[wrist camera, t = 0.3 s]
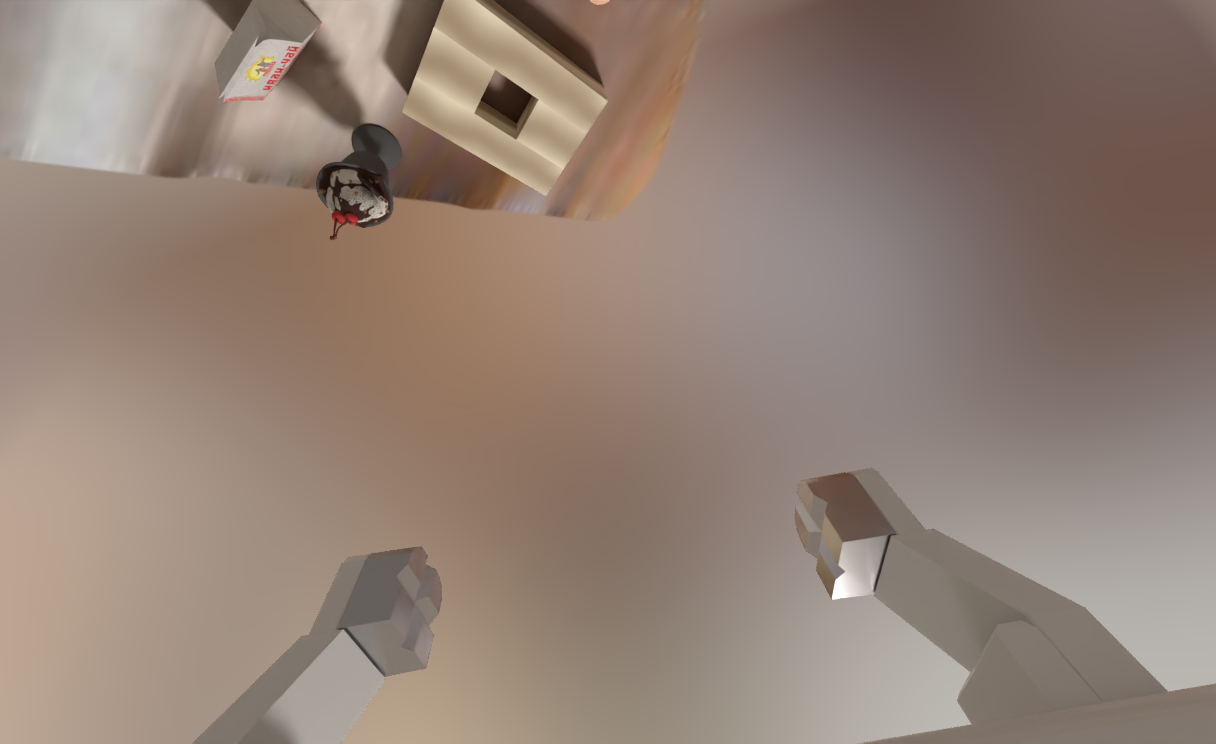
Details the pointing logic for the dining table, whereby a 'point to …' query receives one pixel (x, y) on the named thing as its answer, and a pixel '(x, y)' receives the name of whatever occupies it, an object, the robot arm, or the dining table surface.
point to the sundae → (361, 180)
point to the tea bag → (263, 48)
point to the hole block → (495, 40)
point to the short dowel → (599, 1)
